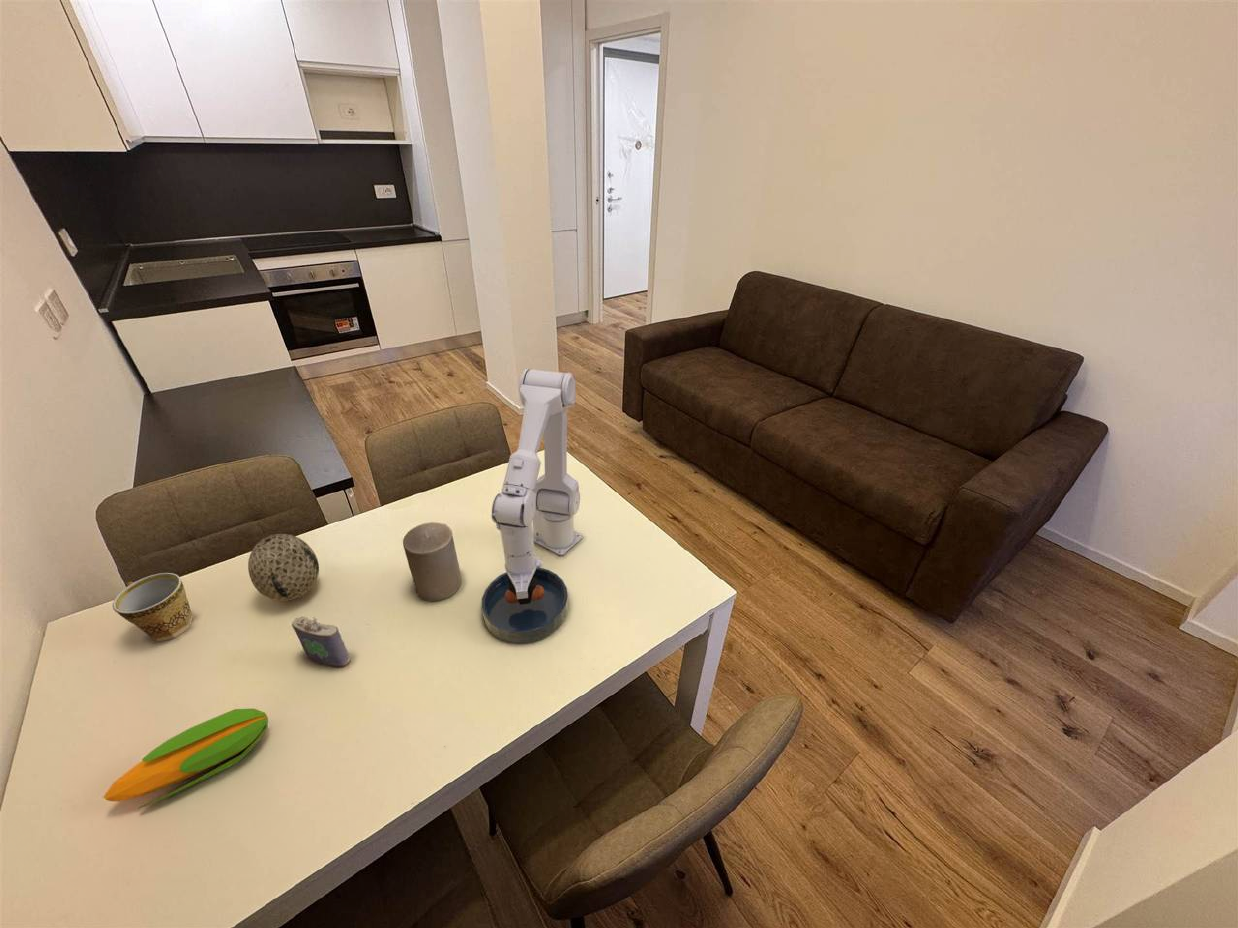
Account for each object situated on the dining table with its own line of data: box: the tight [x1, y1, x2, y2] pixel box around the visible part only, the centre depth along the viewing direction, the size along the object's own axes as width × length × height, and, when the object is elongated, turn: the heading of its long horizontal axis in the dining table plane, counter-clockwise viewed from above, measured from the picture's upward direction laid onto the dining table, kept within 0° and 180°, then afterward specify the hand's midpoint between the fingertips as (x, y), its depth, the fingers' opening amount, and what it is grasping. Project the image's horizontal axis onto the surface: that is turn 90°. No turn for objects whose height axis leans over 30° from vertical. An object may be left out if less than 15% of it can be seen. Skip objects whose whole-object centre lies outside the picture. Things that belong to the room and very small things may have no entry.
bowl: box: [481, 567, 569, 645], centre depth 104 cm, size 17×17×4 cm
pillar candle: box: [402, 521, 462, 602], centre depth 106 cm, size 10×10×15 cm
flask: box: [291, 616, 352, 668], centre depth 92 cm, size 9×3×11 cm, turn 74°
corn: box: [102, 708, 269, 810], centre depth 76 cm, size 7×8×20 cm
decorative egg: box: [247, 533, 320, 602], centre depth 104 cm, size 12×12×15 cm
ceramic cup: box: [112, 572, 194, 642], centre depth 98 cm, size 13×10×10 cm
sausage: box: [505, 585, 545, 603], centre depth 103 cm, size 8×3×3 cm, turn 100°
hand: (524, 596), depth 103 cm, fingers closed on sausage, 3 cm apart
